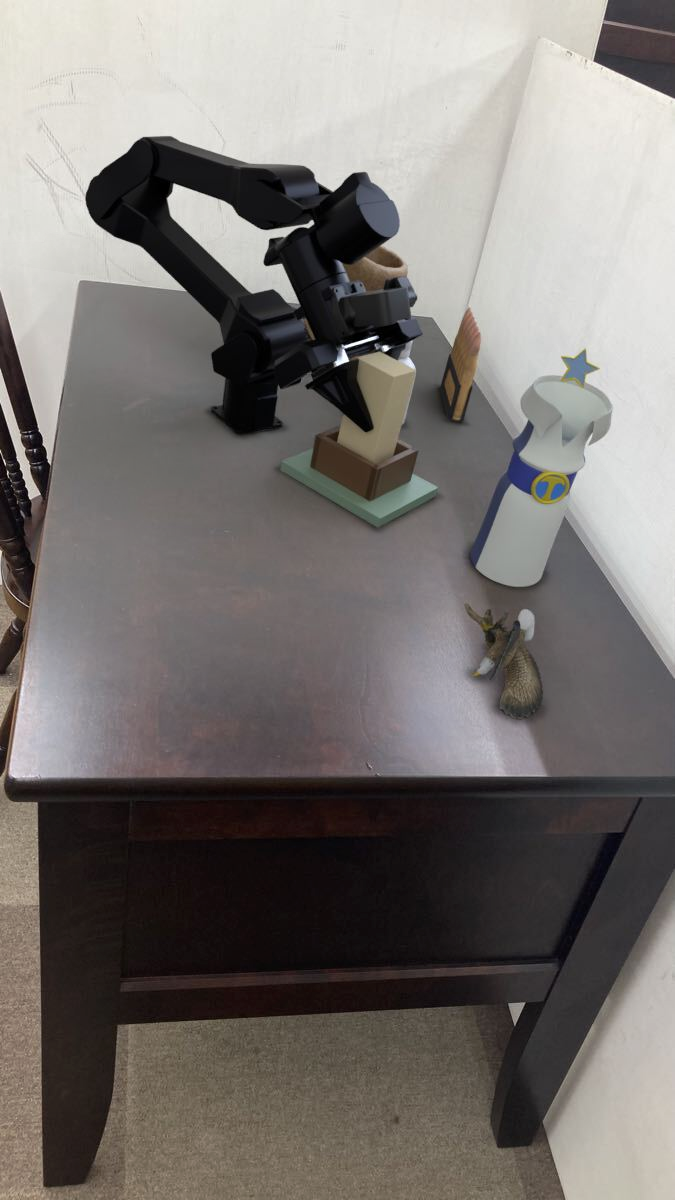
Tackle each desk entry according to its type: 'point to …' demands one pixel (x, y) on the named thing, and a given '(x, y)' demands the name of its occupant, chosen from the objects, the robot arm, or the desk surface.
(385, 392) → the tan rectangular block
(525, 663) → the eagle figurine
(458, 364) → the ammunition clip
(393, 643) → the desk surface
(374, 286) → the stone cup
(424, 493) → the seat base
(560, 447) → the white superhero chess piece
